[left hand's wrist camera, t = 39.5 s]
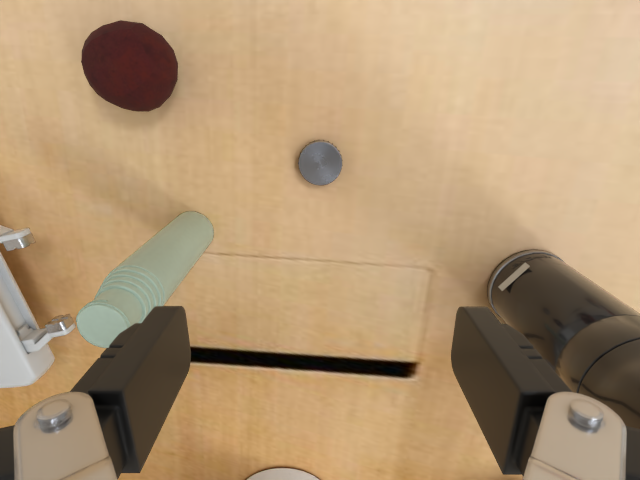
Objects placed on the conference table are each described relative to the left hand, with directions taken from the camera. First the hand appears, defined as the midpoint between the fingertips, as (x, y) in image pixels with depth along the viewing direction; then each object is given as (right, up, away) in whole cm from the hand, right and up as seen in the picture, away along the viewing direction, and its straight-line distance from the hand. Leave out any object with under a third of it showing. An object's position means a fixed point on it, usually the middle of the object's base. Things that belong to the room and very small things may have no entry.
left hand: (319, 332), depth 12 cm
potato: (-17, +19, +27) cm, 37 cm away
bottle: (-14, +4, +33) cm, 36 cm away
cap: (0, +11, +29) cm, 31 cm away
